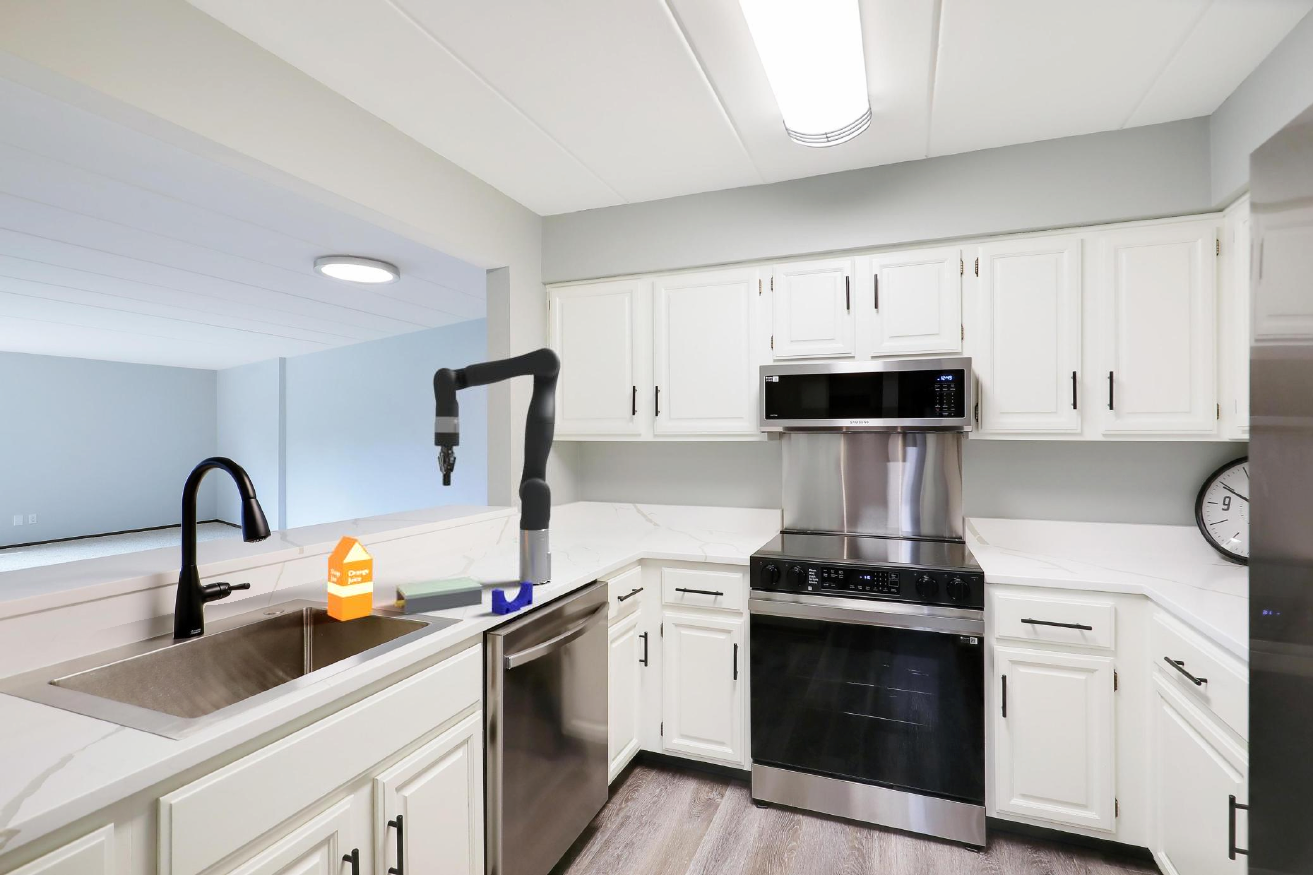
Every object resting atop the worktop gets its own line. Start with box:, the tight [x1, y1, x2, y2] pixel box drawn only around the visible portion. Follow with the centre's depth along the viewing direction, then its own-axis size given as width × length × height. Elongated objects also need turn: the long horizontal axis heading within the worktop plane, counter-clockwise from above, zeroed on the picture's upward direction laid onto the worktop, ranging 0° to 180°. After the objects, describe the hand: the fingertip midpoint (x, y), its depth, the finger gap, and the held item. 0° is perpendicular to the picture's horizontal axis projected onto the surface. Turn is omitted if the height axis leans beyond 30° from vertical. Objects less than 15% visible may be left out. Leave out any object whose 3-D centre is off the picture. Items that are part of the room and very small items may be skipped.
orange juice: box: [327, 535, 374, 622], centre depth 155 cm, size 8×9×20 cm
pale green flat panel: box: [396, 576, 483, 599], centre depth 166 cm, size 20×12×1 cm, turn 124°
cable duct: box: [393, 588, 483, 614], centre depth 166 cm, size 23×12×4 cm, turn 124°
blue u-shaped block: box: [491, 582, 534, 616], centre depth 162 cm, size 12×4×6 cm, turn 147°
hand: (446, 485), depth 191 cm, fingers closed
